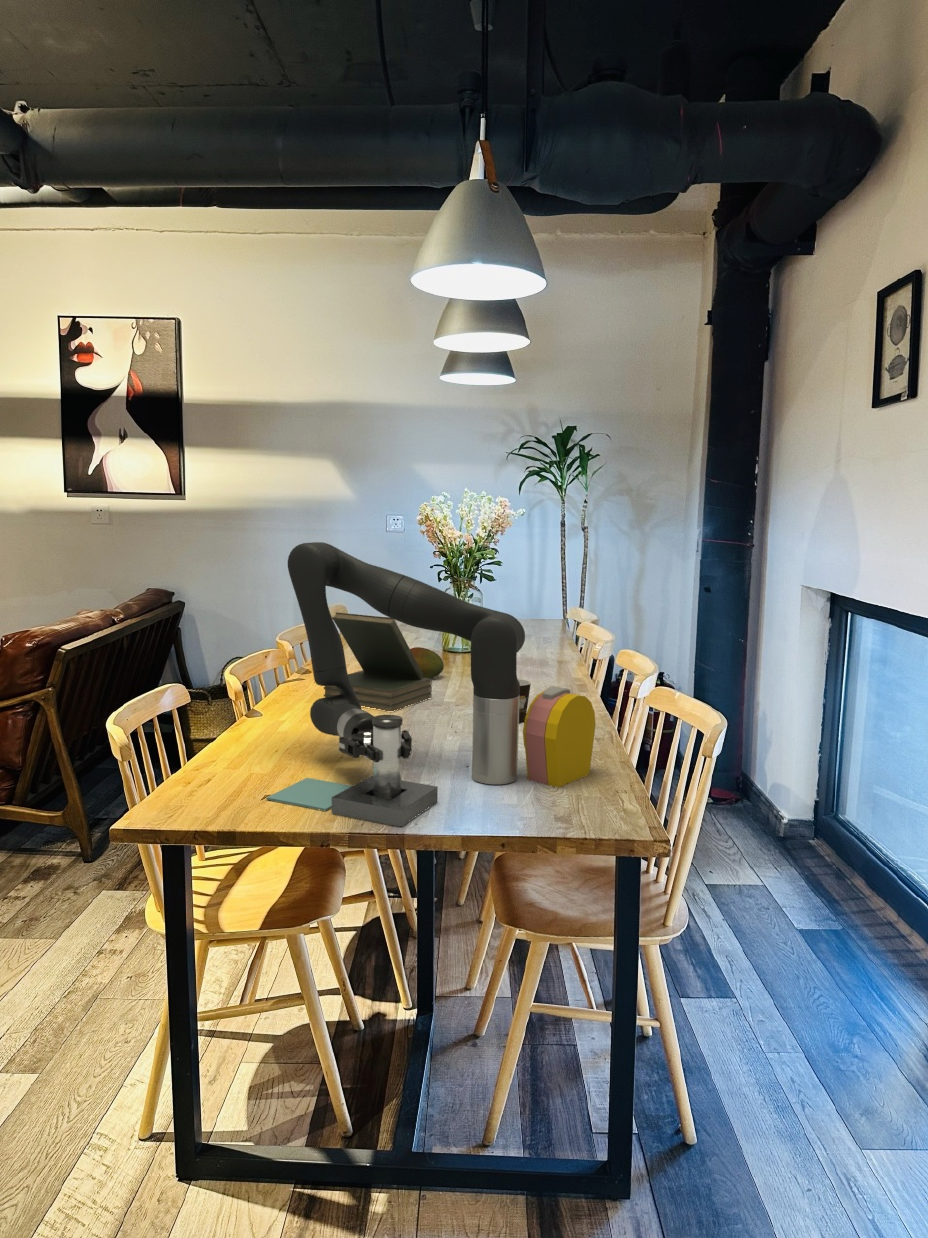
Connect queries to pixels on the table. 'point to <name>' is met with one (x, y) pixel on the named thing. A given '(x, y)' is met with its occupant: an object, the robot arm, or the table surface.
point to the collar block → (384, 802)
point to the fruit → (428, 662)
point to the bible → (381, 663)
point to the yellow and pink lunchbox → (558, 737)
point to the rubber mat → (310, 793)
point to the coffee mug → (523, 698)
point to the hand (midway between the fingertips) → (392, 754)
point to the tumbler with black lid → (387, 756)
